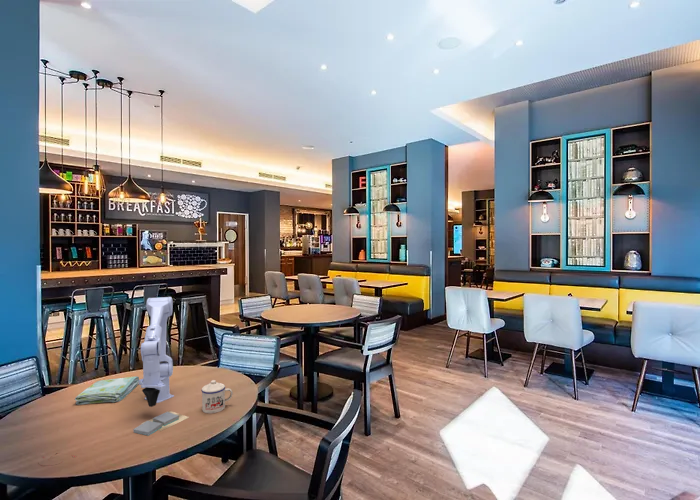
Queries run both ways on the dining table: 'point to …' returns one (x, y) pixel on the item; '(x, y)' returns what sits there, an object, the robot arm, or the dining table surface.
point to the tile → (166, 418)
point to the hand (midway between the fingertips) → (152, 405)
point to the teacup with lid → (214, 397)
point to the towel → (107, 390)
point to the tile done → (147, 428)
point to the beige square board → (181, 418)
